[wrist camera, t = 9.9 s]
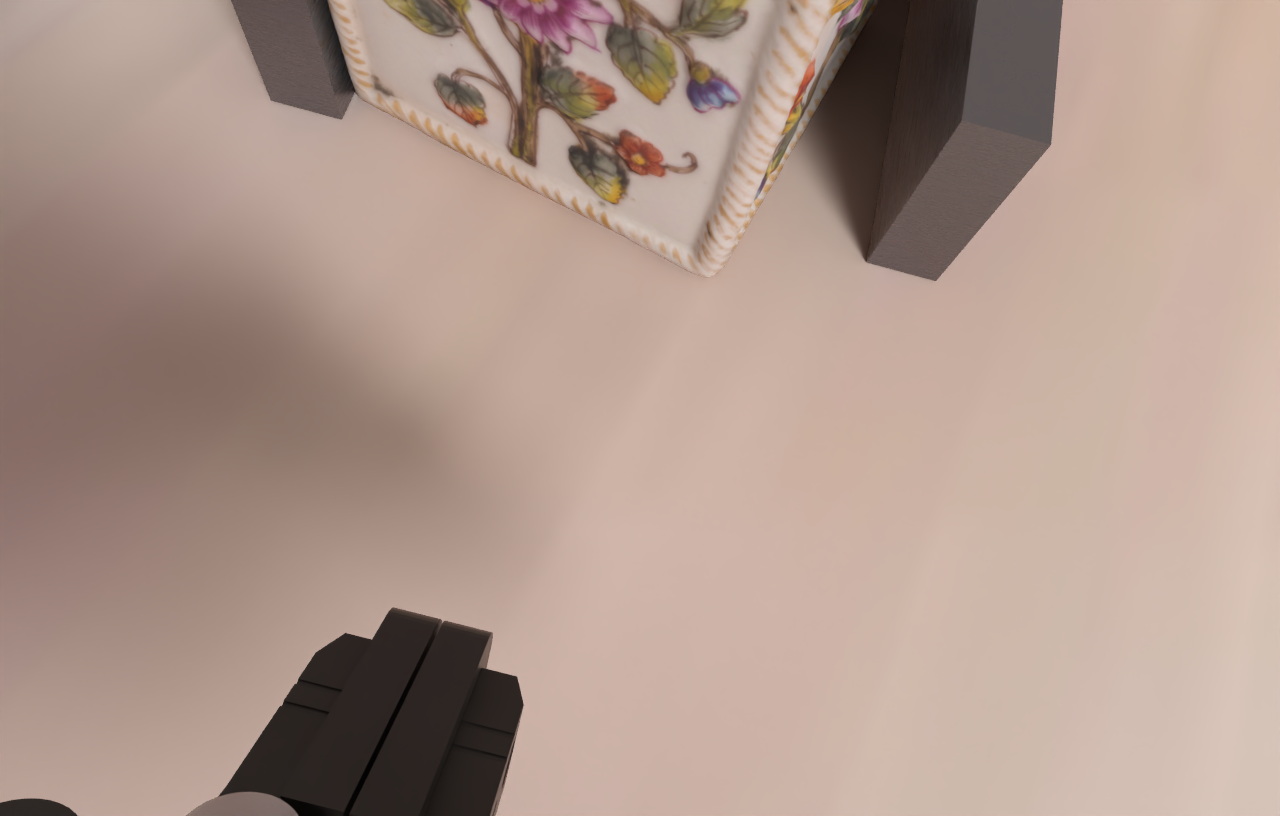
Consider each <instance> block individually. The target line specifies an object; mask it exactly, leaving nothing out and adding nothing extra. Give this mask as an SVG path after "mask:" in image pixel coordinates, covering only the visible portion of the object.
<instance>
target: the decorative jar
mask: <svg viewBox="0 0 1280 816" xmlns="http://www.w3.org/2000/svg"><path fill="white" fill-rule="evenodd" d="M327 2H328V5H329V10H330V13H331V16H332V19H333V23H334V26H335V29H336V31H337V34H338V38H339V42H340V45H341V49H342V53H343V56H344V59H345V62H346V65H347V69H348V72H349V75H350V77H351V80H352V83H353V86H354V89H355V91H356V93H357V95H358V96H359V97H360V98H361V99H362V100H363V101H365V102H368V103H369V104H371V105H373V106H375V107H377V108H379V109H380V110H382V111H384V112H387V113H389V114H390V115H392V116H394V117H396V118H398V119H400V120H402V121H404V122H406V123H408V124H409V125H411V126H412V127H414V128H417V129H419V130H420V131H422V132H423V133H425V134H426V135H428V136H430V137H432V138H434V139H436V140H437V141H439V142H441V143H442V144H444V145H447V146H448V147H450V148H452V149H453V150H456V151H458V152H460V153H462V154H464V155H466V156H467V157H469V158H470V159H473V160H475V161H477V162H479V163H481V164H483V165H485V166H487V167H489V168H491V169H492V170H494V171H496V172H498V173H500V174H503V175H505V176H507V177H508V178H510V179H512V180H513V181H515V182H518V183H520V184H522V185H524V186H525V187H527V188H529V189H531V190H533V191H536V192H537V193H539V194H541V195H543V196H545V197H547V198H549V199H551V200H553V201H555V202H557V203H559V204H561V205H563V206H565V207H567V208H569V209H571V210H573V211H575V212H577V213H579V214H581V215H583V216H585V217H586V218H588V219H591V220H593V221H595V222H597V223H599V224H601V225H603V226H605V227H607V228H609V229H611V230H613V231H614V232H616V233H618V234H620V235H623V236H625V237H626V238H628V239H630V240H631V241H633V242H635V243H637V244H638V245H640V246H642V247H644V248H646V249H648V250H650V251H652V252H654V253H656V254H658V255H660V256H662V257H663V258H665V259H667V260H669V261H670V262H672V263H674V264H676V265H678V266H680V267H681V268H683V269H685V270H687V271H689V272H691V273H693V274H696V275H699V276H703V277H711V276H713V275H715V274H716V273H717V272H719V271H720V270H721V269H722V268H723V267H724V266H725V264H726V263H727V261H728V259H729V258H730V256H731V254H732V252H733V250H734V248H735V247H736V245H737V244H738V242H739V240H740V239H741V237H742V236H743V234H744V232H745V230H746V228H747V226H748V225H749V223H750V221H751V220H752V218H753V216H754V214H755V212H756V211H757V209H758V207H759V206H760V204H761V203H762V201H763V199H764V197H765V195H766V194H767V192H768V191H769V190H770V188H771V186H772V184H773V183H774V181H775V180H776V178H777V176H778V174H779V172H780V171H781V169H782V167H783V164H784V162H785V161H786V159H787V158H788V156H789V154H790V153H791V151H792V150H793V148H794V147H795V145H796V143H797V141H798V140H799V138H800V137H801V136H802V134H803V132H804V130H805V129H806V127H807V125H808V123H809V121H810V119H811V118H812V116H813V114H814V112H815V111H816V109H817V107H818V106H819V104H820V102H821V100H822V98H823V97H824V95H825V94H826V92H827V90H828V88H829V87H830V85H831V83H832V82H833V79H834V77H835V76H836V74H837V72H838V70H839V68H840V67H841V65H842V64H843V61H844V59H845V58H846V56H847V55H848V53H849V51H850V49H851V48H852V46H853V44H854V42H855V41H856V39H857V38H858V36H859V34H860V31H861V30H862V28H863V27H864V26H865V25H866V23H867V21H868V19H869V18H870V17H871V15H872V13H873V11H874V9H875V8H876V6H877V2H878V0H327Z"/></svg>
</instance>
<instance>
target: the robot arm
mask: <svg viewBox="0 0 1280 816" xmlns="http://www.w3.org/2000/svg"><path fill="white" fill-rule="evenodd" d="M492 638H493V633H492V632H488V631H484V630H480V629H476V628H472V627H468V626H464V625H460V624H456V623H452V622H448V621H444V622H443V623H442V620H441V619H437V618H433V617H429V616H425V615H421V614H417V613H413V612H409V611H406V610H402V609H398V608H392V609H391V610H390V611H389V612H388V614H387V615H386V617H385V619H384V621H383V622H382V624H381V626H380V627H379V629H378V631H377V632H376V634H375V636H374V637H373V639H372V640H371V639H367V638H363V637H359V636H355V635H351V634H347V633H345V634H344V635H342V636H340V637H339V638H337V639H336V640H334V641H333V642H331V643H330V644H328V645H327V646H325V647H324V648H322V649H321V650H319V651H318V652H316V653H315V655H314V656H313V658H312V659H311V661H310V662H309V664H308V665H307V667H306V668H305V670H304V671H303V673H302V674H301V676H300V677H299V679H298V682H297V684H295V685H294V686H293V688H292V689H291V691H290V692H289V694H288V695H287V697H286V698H285V700H284V702H283V705H282V706H280V707H279V709H278V710H277V712H276V713H275V715H274V716H273V718H272V719H271V720H270V722H269V723H268V725H267V726H266V728H265V729H264V731H263V732H262V734H261V735H260V737H259V738H258V740H257V741H256V743H255V744H254V746H253V747H252V749H251V750H250V752H249V753H248V755H247V756H246V758H245V759H244V761H243V762H242V764H241V765H240V767H239V768H238V770H237V771H236V773H235V774H234V776H233V777H232V779H231V780H230V782H229V783H228V785H227V786H226V788H225V789H224V790H223V791H222V793H221V794H220V795H219V796H218V797H216V798H214V799H212V800H209V801H207V802H205V803H203V804H202V805H200V806H198V807H197V808H195V809H194V810H193V811H191V812H190V813H189V814H188V815H187V816H495V815H496V812H497V809H498V805H499V802H500V798H501V795H502V792H503V788H504V785H505V781H506V777H507V773H508V769H509V765H510V760H511V756H512V752H513V748H514V743H515V739H516V735H517V731H518V727H519V722H520V718H521V714H522V710H523V706H524V705H523V700H522V696H521V692H520V687H519V683H518V679H517V677H516V676H512V675H508V674H504V673H500V672H496V671H492V670H488V669H486V667H487V663H488V658H489V653H490V649H491V644H492ZM0 816H77V815H76V813H74V812H73V811H72V810H71V809H70V808H68V807H66V806H64V805H62V804H60V803H57V802H54V801H51V800H44V799H18V800H11V801H6V802H2V803H0Z"/></svg>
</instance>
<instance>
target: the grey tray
mask: <svg viewBox="0 0 1280 816" xmlns="http://www.w3.org/2000/svg"><path fill="white" fill-rule="evenodd" d="M231 1H232V4H233V6H234V9H235V11H236V14H237V16H238V19H239V21H240V24H241V26H242V29H243V31H244V34H245V36H246V39H247V41H248V44H249V46H250V49H251V51H252V54H253V56H254V59H255V61H256V64H257V66H258V69H259V71H260V74H261V76H262V79H263V81H264V84H265V86H266V89H267V91H268V94H269V96H270V99H271V100H272V101H276V102H279V103H283V104H287V105H290V106H294V107H298V108H301V109H305V110H309V111H312V112H316V113H320V114H323V115H327V116H331V117H334V118H338V119H342V118H343V116H344V114H345V111H346V109H347V107H348V105H349V103H350V101H351V98H352V96H353V94H354V92H355V89H354V86H353V83H352V80H351V77H350V75H349V72H348V69H347V65H346V62H345V59H344V56H343V53H342V49H341V45H340V42H339V38H338V34H337V31H336V29H335V26H334V23H333V19H332V16H331V13H330V10H329V5H328V2H327V0H231ZM1062 4H1063V0H911V3H910V9H909V14H908V20H907V26H906V32H905V38H904V44H903V50H902V56H901V62H900V68H899V74H898V79H897V85H896V91H895V97H894V103H893V109H892V115H891V121H890V127H889V133H888V139H887V144H886V150H885V156H884V162H883V168H882V174H881V180H880V186H879V192H878V198H877V204H876V209H875V215H874V221H873V227H872V233H871V239H870V245H869V251H868V257H867V262H868V263H872V264H875V265H879V266H883V267H886V268H890V269H894V270H897V271H901V272H905V273H908V274H912V275H916V276H919V277H923V278H927V279H931V280H934V281H936V280H937V279H938V278H939V277H940V276H941V274H942V273H943V272H944V271H945V270H946V268H947V267H948V266H949V265H950V264H951V263H952V261H953V260H954V259H955V258H956V257H957V255H958V254H959V253H960V252H961V251H962V250H963V248H964V247H965V246H966V245H967V244H968V242H969V241H970V240H971V239H972V238H973V236H974V235H975V234H976V233H977V232H978V231H979V229H980V228H981V227H982V226H983V225H984V223H985V222H986V221H987V220H988V219H989V218H990V216H991V215H992V214H993V213H994V212H995V210H996V209H997V208H998V207H999V206H1000V204H1001V203H1002V202H1003V201H1004V200H1005V199H1006V197H1007V196H1008V195H1009V194H1010V193H1011V191H1012V190H1013V189H1014V188H1015V187H1016V186H1017V184H1018V183H1019V182H1020V181H1021V180H1022V178H1023V177H1024V176H1025V175H1026V174H1027V173H1028V171H1029V170H1030V169H1031V168H1032V167H1033V165H1034V164H1035V163H1036V162H1037V161H1038V159H1039V158H1040V157H1041V156H1042V155H1043V154H1044V152H1045V151H1046V150H1047V149H1048V148H1049V146H1050V145H1051V138H1052V126H1053V113H1054V101H1055V89H1056V77H1057V65H1058V53H1059V40H1060V28H1061V16H1062Z"/></svg>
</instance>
